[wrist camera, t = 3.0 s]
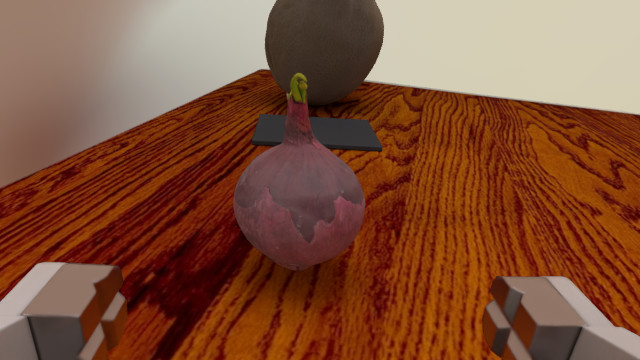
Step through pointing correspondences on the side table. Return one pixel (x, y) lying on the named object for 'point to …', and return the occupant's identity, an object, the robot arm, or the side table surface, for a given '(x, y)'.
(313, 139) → the vegetable
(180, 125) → the side table surface
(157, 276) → the side table surface
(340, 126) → the mat
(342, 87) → the coconut
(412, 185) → the side table surface
